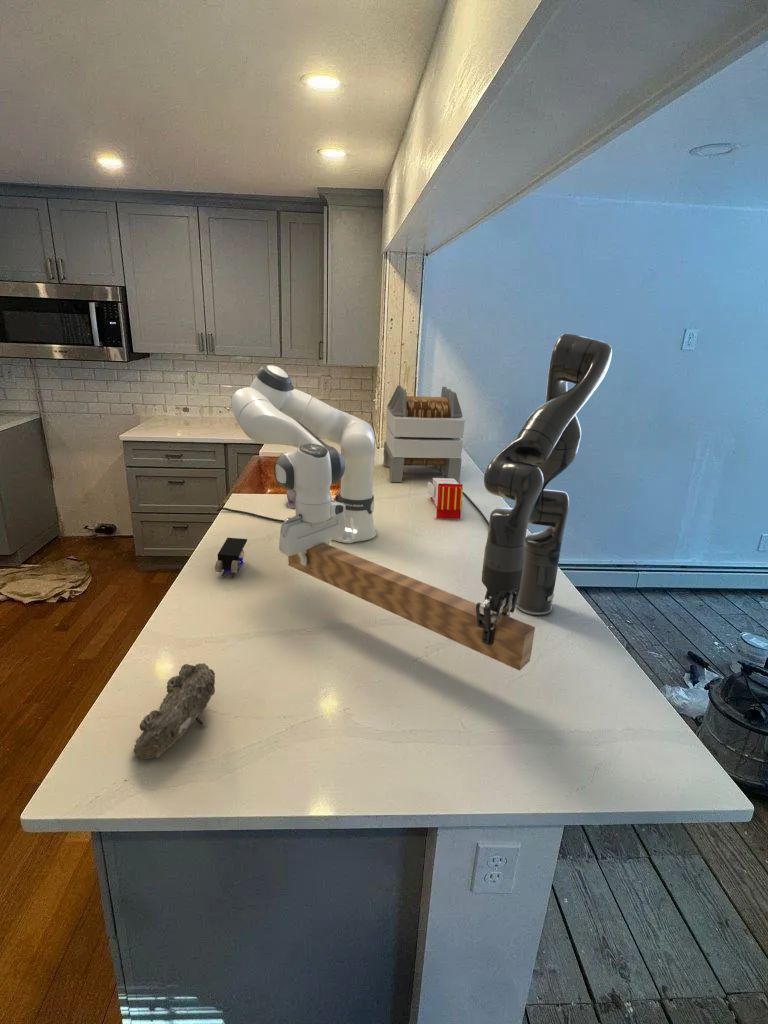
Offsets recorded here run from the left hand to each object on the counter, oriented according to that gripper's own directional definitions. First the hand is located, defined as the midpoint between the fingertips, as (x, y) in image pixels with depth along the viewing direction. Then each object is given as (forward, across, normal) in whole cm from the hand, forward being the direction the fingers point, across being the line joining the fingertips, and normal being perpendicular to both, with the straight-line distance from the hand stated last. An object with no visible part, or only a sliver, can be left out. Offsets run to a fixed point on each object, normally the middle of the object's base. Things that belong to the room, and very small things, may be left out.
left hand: (313, 560), depth 146 cm
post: (+3, 0, -26) cm, 27 cm away
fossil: (+13, -48, -15) cm, 52 cm away
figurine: (+13, +51, +62) cm, 81 cm away
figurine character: (+13, -2, +32) cm, 35 cm away
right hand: (0, 0, -53) cm, 53 cm away
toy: (+13, +91, +20) cm, 94 cm away
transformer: (+13, +125, +56) cm, 138 cm away
